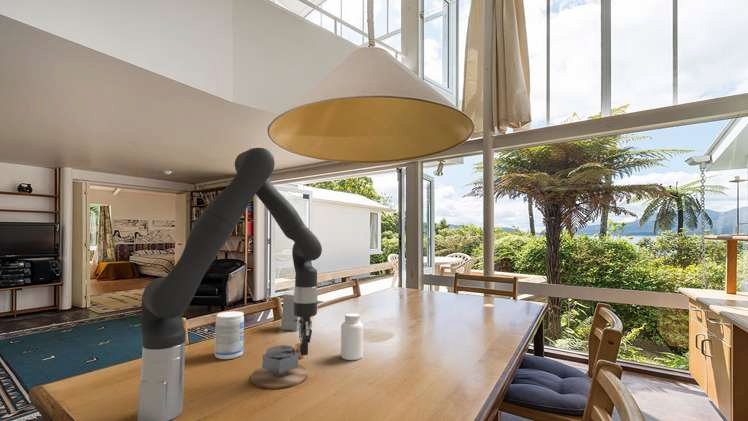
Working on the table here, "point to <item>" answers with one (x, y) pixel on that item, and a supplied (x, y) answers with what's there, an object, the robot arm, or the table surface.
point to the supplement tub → (229, 335)
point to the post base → (279, 378)
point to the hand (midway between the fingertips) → (304, 354)
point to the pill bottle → (352, 337)
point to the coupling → (282, 358)
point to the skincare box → (289, 313)
